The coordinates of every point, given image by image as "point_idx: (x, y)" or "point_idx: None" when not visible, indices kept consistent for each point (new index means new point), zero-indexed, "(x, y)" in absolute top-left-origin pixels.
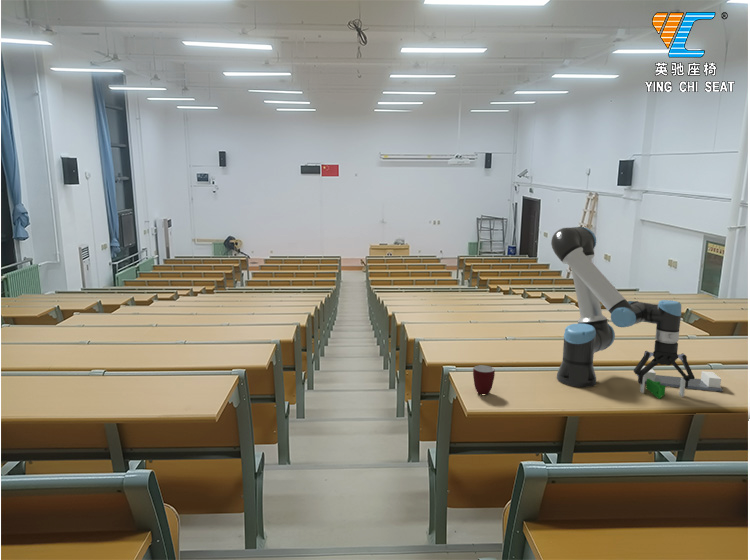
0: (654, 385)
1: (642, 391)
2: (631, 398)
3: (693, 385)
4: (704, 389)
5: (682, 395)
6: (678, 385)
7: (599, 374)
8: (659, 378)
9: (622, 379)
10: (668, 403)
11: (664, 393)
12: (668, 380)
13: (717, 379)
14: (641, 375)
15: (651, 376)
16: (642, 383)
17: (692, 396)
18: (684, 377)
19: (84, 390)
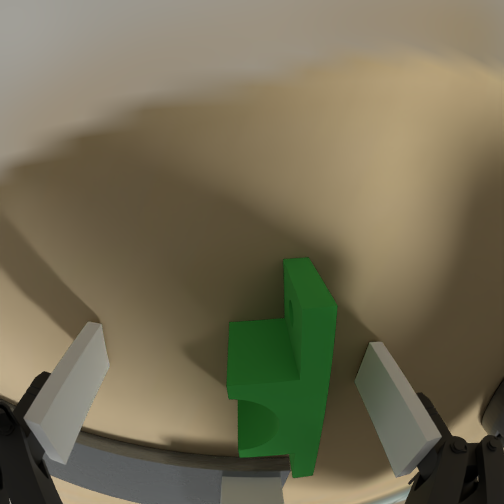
0: (325, 391)
1: (382, 348)
2: (486, 222)
3: None
4: (10, 407)
5: (93, 328)
6: (103, 447)
7: (417, 469)
8: (183, 495)
9: (360, 469)
10: (262, 153)
11: (230, 337)
12: (145, 483)
13: None
14: (459, 441)
15: (243, 501)
16: (412, 393)
17: (44, 339)
18: (22, 448)
19: None
